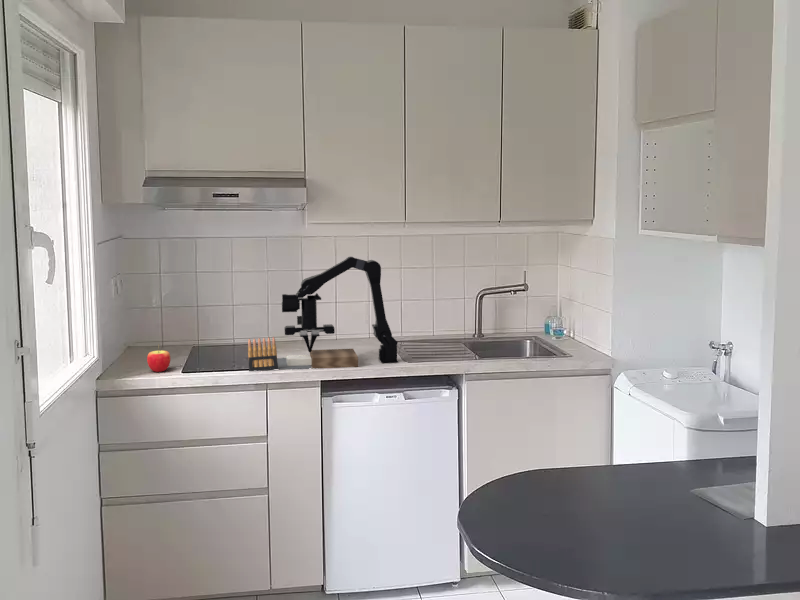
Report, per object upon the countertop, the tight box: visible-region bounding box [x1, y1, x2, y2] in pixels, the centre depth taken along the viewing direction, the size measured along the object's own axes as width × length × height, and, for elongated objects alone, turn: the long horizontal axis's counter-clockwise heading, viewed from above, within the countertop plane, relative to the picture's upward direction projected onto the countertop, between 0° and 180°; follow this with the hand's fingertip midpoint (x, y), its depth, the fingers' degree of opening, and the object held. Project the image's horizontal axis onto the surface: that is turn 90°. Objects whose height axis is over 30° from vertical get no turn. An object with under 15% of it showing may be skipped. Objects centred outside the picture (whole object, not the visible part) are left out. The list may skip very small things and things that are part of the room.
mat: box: [277, 357, 312, 370], centre depth 313 cm, size 14×20×1 cm
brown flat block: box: [309, 348, 359, 369], centre depth 314 cm, size 17×16×4 cm
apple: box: [146, 343, 171, 373], centre depth 301 cm, size 8×8×10 cm
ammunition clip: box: [247, 336, 278, 372], centre depth 302 cm, size 11×2×12 cm, turn 99°
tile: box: [285, 354, 312, 366], centre depth 312 cm, size 9×7×2 cm
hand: (309, 352), depth 312 cm, fingers closed
